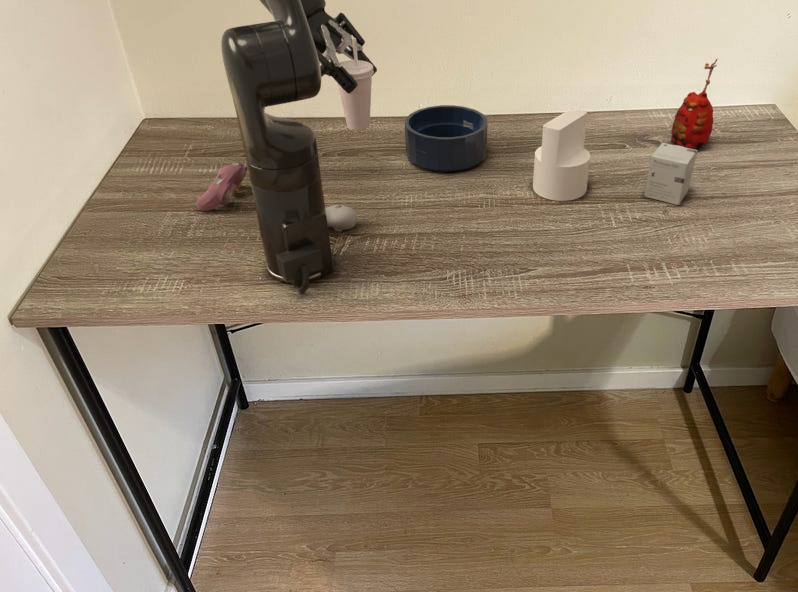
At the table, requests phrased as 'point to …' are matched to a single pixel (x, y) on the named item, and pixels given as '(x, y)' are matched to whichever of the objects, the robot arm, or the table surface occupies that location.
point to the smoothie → (357, 92)
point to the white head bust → (341, 217)
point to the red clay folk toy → (694, 118)
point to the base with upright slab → (562, 158)
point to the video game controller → (222, 187)
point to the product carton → (670, 173)
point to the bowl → (446, 138)
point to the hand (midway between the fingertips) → (363, 81)
